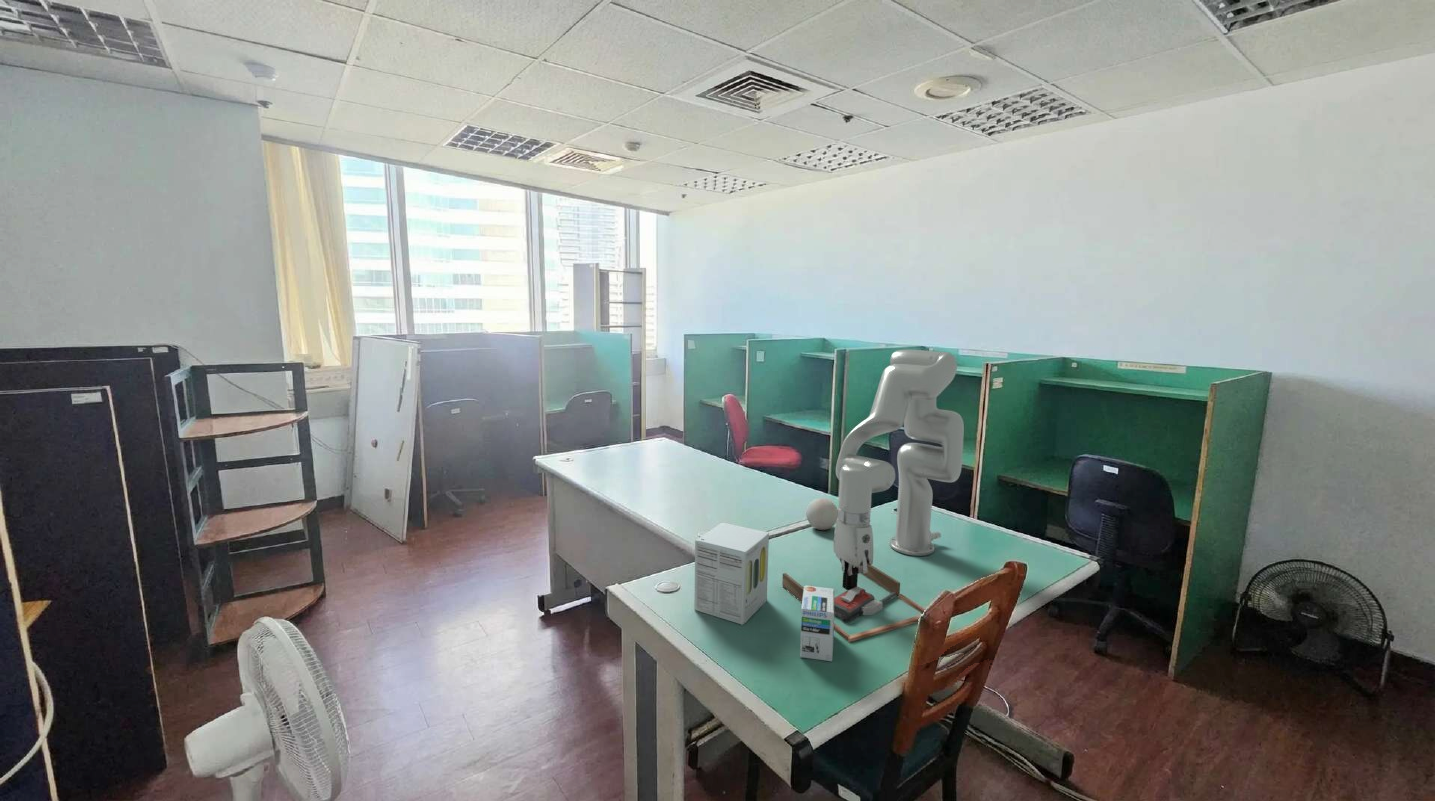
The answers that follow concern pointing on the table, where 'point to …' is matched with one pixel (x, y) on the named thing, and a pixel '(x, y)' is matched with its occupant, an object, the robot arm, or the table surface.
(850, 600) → the walkie-talkie
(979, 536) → the table surface
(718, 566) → the supplement box
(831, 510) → the eye model
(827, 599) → the light bulb box
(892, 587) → the brown wooden frame
